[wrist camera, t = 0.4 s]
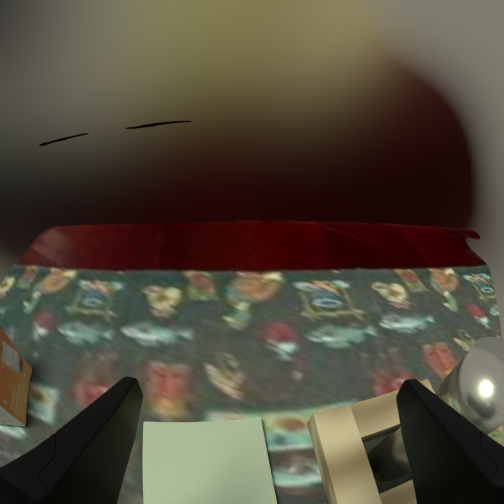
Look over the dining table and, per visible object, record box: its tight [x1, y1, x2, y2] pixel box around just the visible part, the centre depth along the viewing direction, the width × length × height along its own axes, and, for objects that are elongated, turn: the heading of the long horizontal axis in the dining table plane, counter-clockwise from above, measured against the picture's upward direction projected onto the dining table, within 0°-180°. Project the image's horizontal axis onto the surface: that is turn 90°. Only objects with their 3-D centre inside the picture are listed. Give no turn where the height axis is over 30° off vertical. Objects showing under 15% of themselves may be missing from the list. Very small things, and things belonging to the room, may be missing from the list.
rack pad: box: [143, 417, 277, 504], centre depth 16 cm, size 10×10×1 cm
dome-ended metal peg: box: [368, 337, 504, 481], centre depth 13 cm, size 5×5×15 cm
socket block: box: [307, 379, 435, 504], centre depth 16 cm, size 12×12×2 cm
